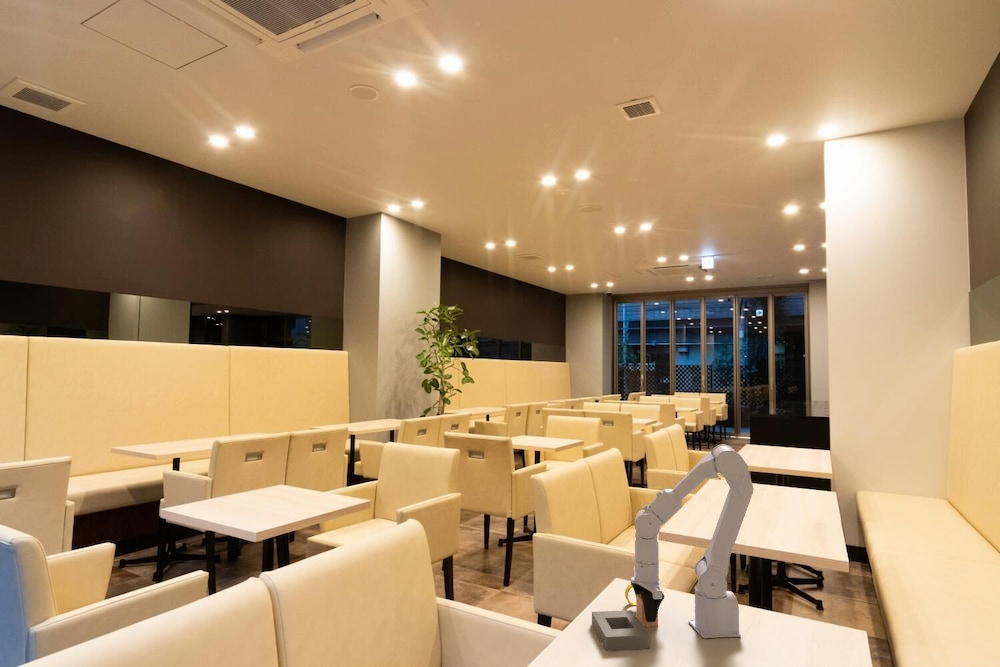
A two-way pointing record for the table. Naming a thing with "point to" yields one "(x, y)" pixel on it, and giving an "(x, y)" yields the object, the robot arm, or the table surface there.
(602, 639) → the socket block
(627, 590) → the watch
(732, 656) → the table surface
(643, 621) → the plug
